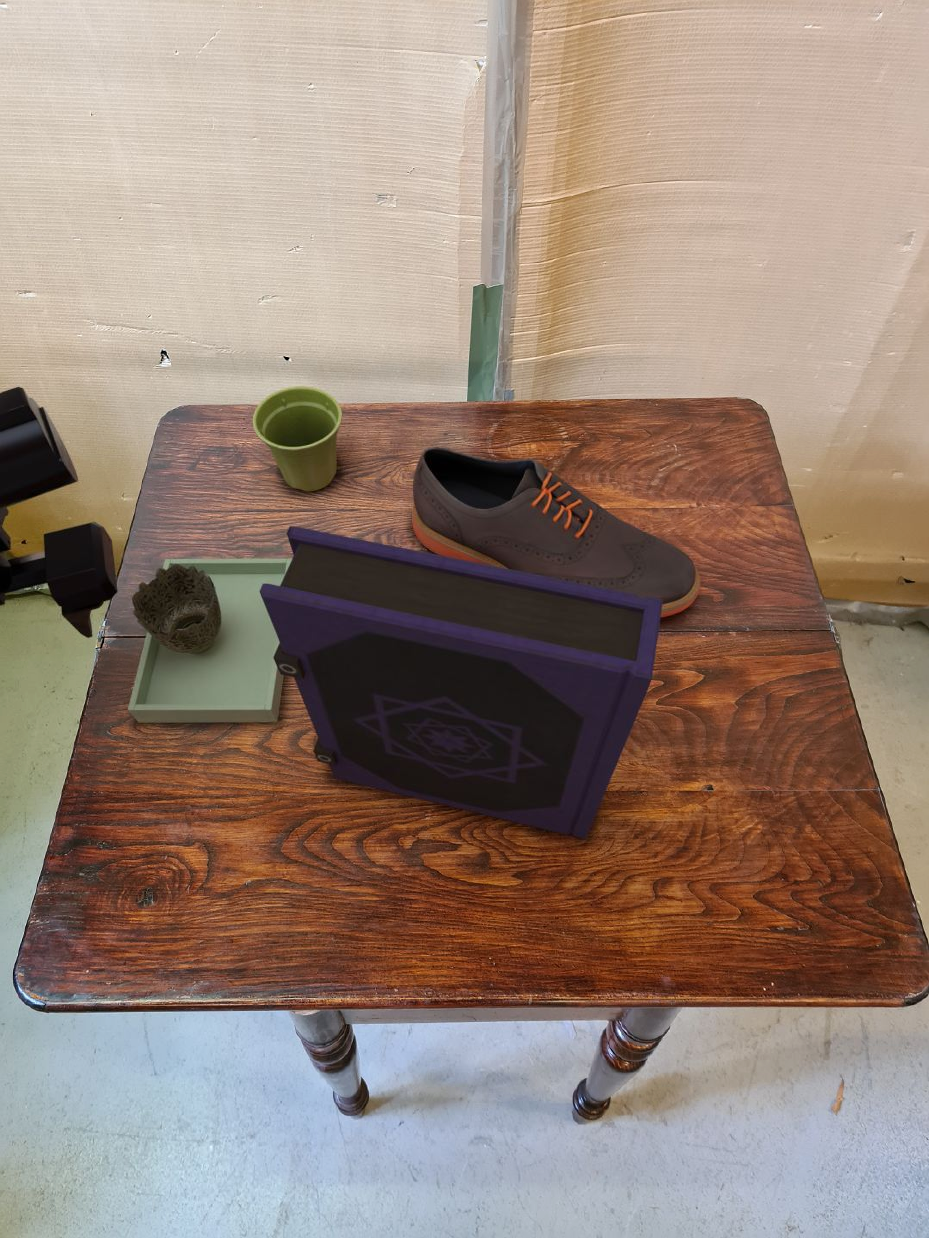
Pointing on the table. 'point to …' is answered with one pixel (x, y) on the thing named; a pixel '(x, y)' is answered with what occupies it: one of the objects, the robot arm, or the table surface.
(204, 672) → the tray
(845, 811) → the table surface
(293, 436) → the plant pot
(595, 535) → the oxford shoe
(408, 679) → the book
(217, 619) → the ornate lamp shade
